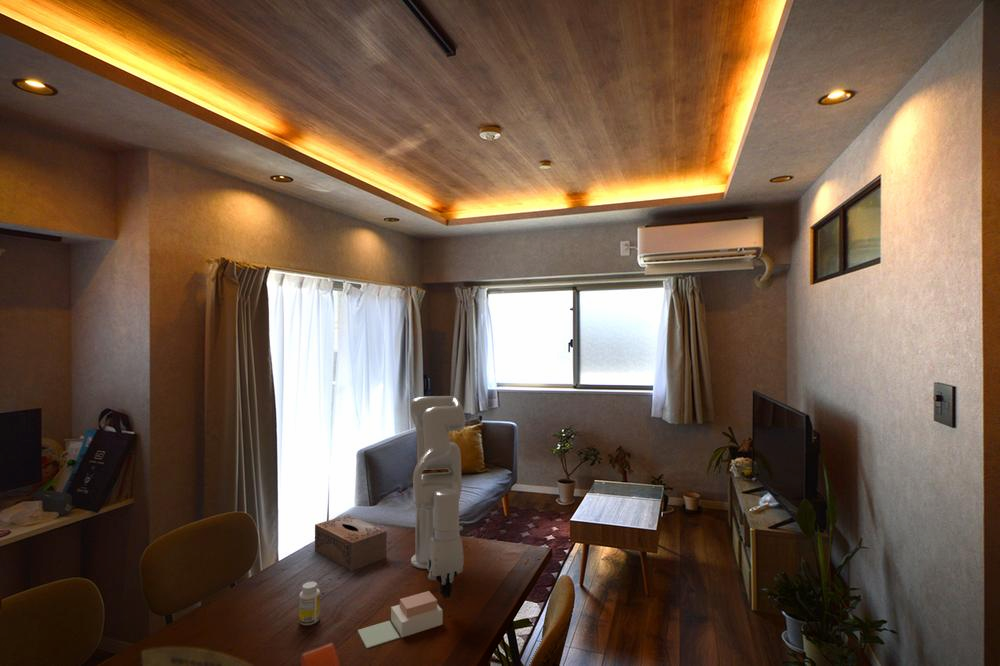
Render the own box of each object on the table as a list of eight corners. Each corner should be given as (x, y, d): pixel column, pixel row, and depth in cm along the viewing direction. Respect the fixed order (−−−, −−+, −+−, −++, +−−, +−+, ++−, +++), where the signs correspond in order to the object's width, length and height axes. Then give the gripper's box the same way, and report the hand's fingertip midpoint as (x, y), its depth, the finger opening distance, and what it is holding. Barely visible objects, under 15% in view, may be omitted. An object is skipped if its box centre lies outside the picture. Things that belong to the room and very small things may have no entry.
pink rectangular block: (428, 599, 145) (429, 590, 145) (437, 608, 140) (437, 600, 140) (399, 607, 140) (399, 599, 140) (406, 617, 135) (406, 608, 135)
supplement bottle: (313, 613, 144) (313, 578, 144) (323, 620, 141) (324, 584, 141) (295, 621, 140) (295, 585, 140) (305, 628, 136) (305, 591, 137)
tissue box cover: (386, 558, 181) (386, 531, 182) (351, 571, 171) (352, 543, 171) (348, 539, 198) (348, 514, 199) (314, 550, 188) (315, 524, 188)
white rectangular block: (430, 609, 146) (430, 595, 146) (442, 624, 139) (442, 610, 139) (390, 621, 140) (391, 607, 140) (401, 637, 133) (401, 622, 133)
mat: (389, 621, 140) (389, 620, 140) (399, 638, 132) (399, 636, 132) (357, 631, 135) (357, 629, 135) (366, 648, 128) (366, 647, 128)
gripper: (462, 524, 152) (462, 583, 151) (417, 533, 144) (417, 596, 144) (474, 532, 145) (474, 594, 145) (427, 542, 137) (427, 608, 137)
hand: (445, 595), depth 144 cm, fingers closed
